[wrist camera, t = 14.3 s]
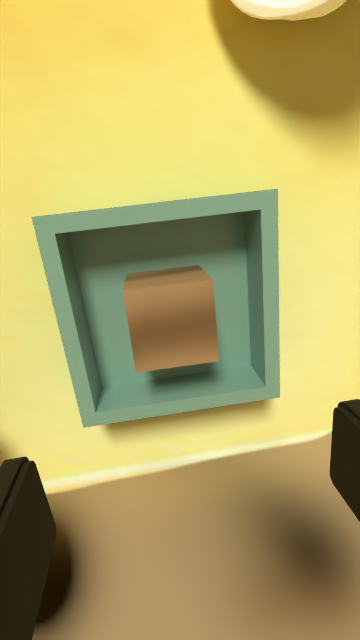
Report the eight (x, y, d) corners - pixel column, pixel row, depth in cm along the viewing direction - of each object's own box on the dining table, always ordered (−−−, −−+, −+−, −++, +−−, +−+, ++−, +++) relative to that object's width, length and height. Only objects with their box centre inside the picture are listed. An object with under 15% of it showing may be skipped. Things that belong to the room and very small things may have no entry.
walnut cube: (127, 273, 27) (122, 290, 22) (199, 265, 28) (213, 279, 22) (137, 340, 29) (135, 372, 23) (204, 331, 30) (219, 361, 24)
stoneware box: (52, 215, 26) (31, 216, 21) (254, 192, 27) (277, 188, 22) (92, 394, 31) (83, 427, 27) (260, 369, 32) (279, 397, 28)
